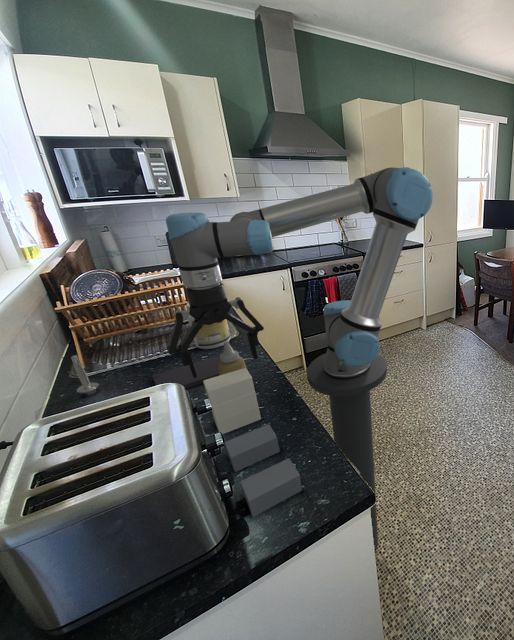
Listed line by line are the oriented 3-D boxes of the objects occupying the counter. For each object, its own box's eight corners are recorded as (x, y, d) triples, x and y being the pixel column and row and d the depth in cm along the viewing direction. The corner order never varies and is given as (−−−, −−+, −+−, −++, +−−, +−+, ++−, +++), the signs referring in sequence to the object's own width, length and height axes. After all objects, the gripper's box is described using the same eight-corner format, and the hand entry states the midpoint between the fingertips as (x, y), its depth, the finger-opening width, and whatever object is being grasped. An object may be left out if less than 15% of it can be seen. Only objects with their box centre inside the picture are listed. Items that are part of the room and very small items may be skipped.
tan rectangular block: (248, 381, 95) (245, 367, 93) (255, 391, 91) (251, 377, 89) (207, 395, 89) (202, 380, 87) (211, 406, 85) (207, 391, 83)
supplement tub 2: (238, 340, 135) (228, 300, 128) (206, 353, 126) (194, 310, 119) (220, 333, 141) (210, 293, 134) (188, 344, 131) (176, 303, 125)
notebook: (160, 397, 102) (237, 371, 115) (158, 393, 101) (236, 367, 115) (153, 379, 110) (226, 357, 124) (151, 375, 110) (225, 353, 123)
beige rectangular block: (254, 408, 98) (251, 395, 97) (261, 419, 94) (258, 405, 92) (215, 422, 92) (211, 409, 91) (220, 435, 88) (216, 421, 86)
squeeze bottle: (219, 405, 99) (204, 350, 92) (228, 389, 106) (215, 337, 99) (250, 402, 101) (237, 348, 93) (256, 386, 108) (245, 335, 101)
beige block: (251, 395, 97) (248, 381, 95) (258, 405, 92) (255, 391, 91) (211, 409, 91) (207, 395, 89) (216, 421, 86) (212, 406, 85)
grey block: (272, 437, 88) (269, 423, 86) (280, 451, 84) (277, 437, 82) (228, 456, 82) (224, 442, 80) (234, 472, 78) (230, 457, 76)
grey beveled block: (292, 472, 78) (289, 457, 76) (302, 490, 74) (299, 475, 72) (244, 496, 72) (240, 481, 70) (252, 517, 68) (248, 501, 66)
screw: (76, 399, 100) (84, 390, 104) (97, 396, 102) (104, 387, 106) (57, 361, 95) (66, 352, 99) (80, 358, 96) (88, 350, 100)
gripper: (135, 302, 68) (167, 391, 76) (266, 278, 82) (281, 355, 91) (133, 292, 73) (164, 376, 82) (257, 271, 88) (272, 345, 96)
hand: (226, 365), depth 86 cm, fingers open, 13 cm apart
